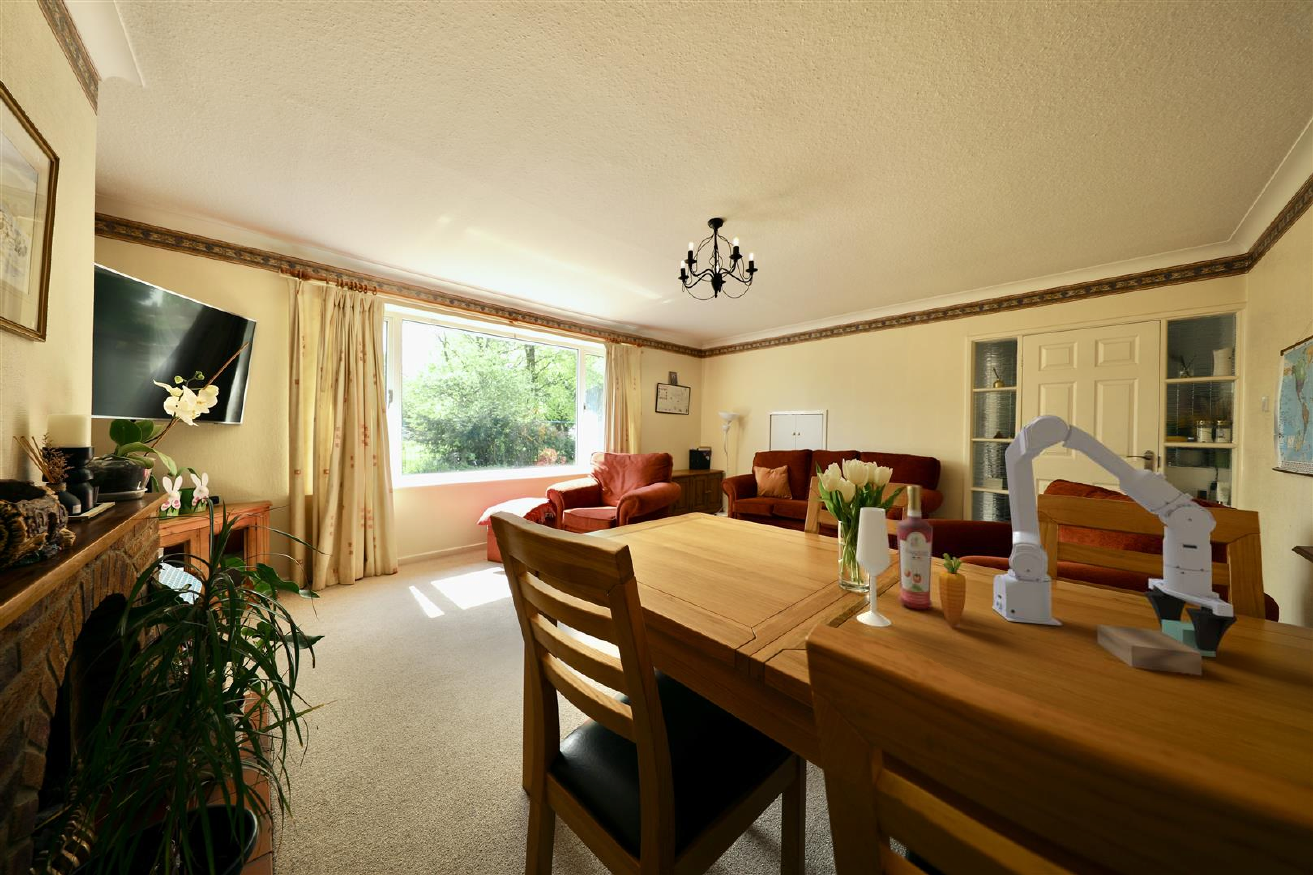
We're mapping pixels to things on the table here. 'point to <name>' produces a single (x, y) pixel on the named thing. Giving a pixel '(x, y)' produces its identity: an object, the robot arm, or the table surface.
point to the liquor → (914, 555)
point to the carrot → (952, 591)
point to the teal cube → (1183, 634)
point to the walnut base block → (1149, 649)
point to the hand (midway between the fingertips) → (1187, 640)
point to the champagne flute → (873, 557)
